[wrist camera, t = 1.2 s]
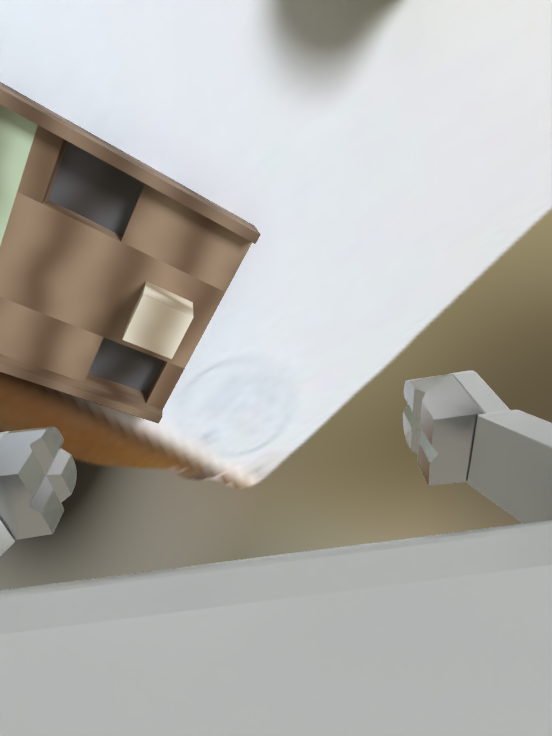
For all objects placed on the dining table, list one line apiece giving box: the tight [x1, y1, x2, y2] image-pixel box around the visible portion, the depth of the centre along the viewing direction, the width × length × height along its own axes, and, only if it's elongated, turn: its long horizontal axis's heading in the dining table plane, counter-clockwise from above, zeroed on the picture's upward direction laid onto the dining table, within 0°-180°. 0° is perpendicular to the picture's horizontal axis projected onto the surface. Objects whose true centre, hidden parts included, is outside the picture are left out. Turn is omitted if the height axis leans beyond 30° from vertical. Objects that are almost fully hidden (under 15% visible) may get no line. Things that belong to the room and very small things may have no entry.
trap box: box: [0, 82, 260, 423], centre depth 41 cm, size 28×24×4 cm
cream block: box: [122, 281, 194, 359], centre depth 43 cm, size 5×5×4 cm
